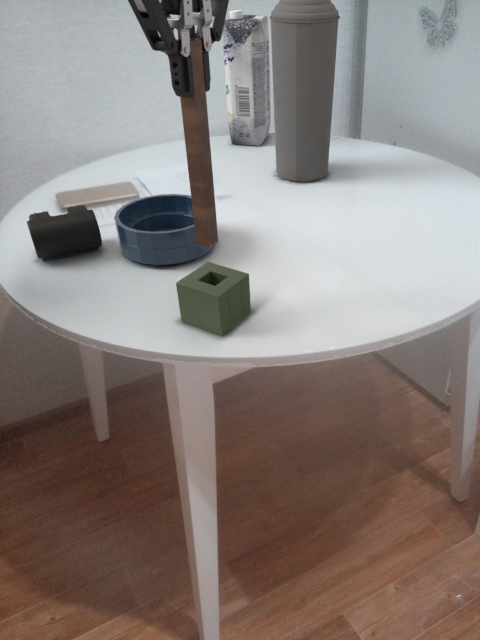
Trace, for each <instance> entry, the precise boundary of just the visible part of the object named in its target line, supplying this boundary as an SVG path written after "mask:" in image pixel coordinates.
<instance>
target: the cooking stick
mask: <svg viewBox="0 0 480 640" xmlns="http://www.w3.org/2000/svg"><path fill="white" fill-rule="evenodd" d="M176 40H178V38H176ZM188 57H192V66H193V77H194V87H195V95H194V96H193V97H190V98H185V97H179V100H180V108H181V118H182V127H183V135H184V143H185V153H186V162H187V171H188V172H187V173H188V179H189V180H188V182H189V189H190V196H191V200H192V209H193V218H194V227H195V236H196V243H197V244H201V245H204V246H208V247H209V246H211V245H212V244H214V243H215V244H216V243H217V242H219V233H218V221H217V207H216V197H215V186H214V185H215V184H214V172H213V162H212V161H213V160H212V148H211V137H210V124H209V114H208V102H207V92H206V88H205V76H204V64H203V52H202V40H201V39H198V38H190V54H189V56H188ZM215 244H214V245H215Z"/></svg>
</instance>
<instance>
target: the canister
mask: <svg viewBox="0 0 480 640" xmlns="http://www.w3.org/2000/svg"><path fill="white" fill-rule="evenodd" d="M340 19H341V16H340V14H339V10H338V9H337V8H336V5H335V4H334V3H333V2H332V0H278V2H277V3H276V4H275V5H274V9H272V10H271V12H270V16H269V20H270V40H271V41H270V42H271V67H272V69H271V71H272V95H273V123H274V145H275V146H274V147H275V165H276V166H275V168H276V173H277V175H278V176H279V177H280V178H282V179H284V180H288V181H292V182H311V181H317V180H321V179H323V178H325V176H326V175H327V174H328V171H329V159H330V144H331V133H332V120H333V119H332V117H333V104H334V91H335V76H336V63H337V62H336V61H337V47H338V34H339V33H338V32H339V20H340Z"/></svg>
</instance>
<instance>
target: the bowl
mask: <svg viewBox="0 0 480 640" xmlns="http://www.w3.org/2000/svg"><path fill="white" fill-rule="evenodd" d="M113 220H114V225H115V230H116V234H117V238H118V243H119V248H120V251H121V253H122V255H123V256H125V257H126V258H128V259H129V260H130V261H134V262H137V263H141V264H144V265H145V264H148V265H156V266H166V265H167V266H169V265H176V264H177V265H178V264H182V263H187V262H189V261H192V260H195V259H197V258H200V257H202V256H203V255H205V254H207V253H208V252H210V251H211V250H212V248H213V247H214V246H215V244H216V243H214V244H212V245H211V246H209V247H208V246H204V245H201V244H197V243H196V236H195V227H194V218H193V209H192V200H191V194H181V193H180V194H179V193H165V194H164V193H163V194H156V195H155V194H154V195H149V196H144V197H140V198H137V199H134V200H131V201H130V202H128V203H125V204H123V205H122V206H121V207H120V208H118V209H117V210H116V212H115V214H114V216H113Z"/></svg>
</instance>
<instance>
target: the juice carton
mask: <svg viewBox="0 0 480 640" xmlns="http://www.w3.org/2000/svg"><path fill="white" fill-rule="evenodd" d="M268 20H269V19H268V16H267V15H261V14H260V15H259V14H244V11H243V9H235V10H230V11H229V18H225V22H224V27H223V32H222V45H223V63H224V77H225V95H226V110H227V122H228V123H227V124H228V131H229V136H230V137H229V138H230V141H231V143H232V144H233V145H239V146H240V145H241V146H255V147H258V146H261V145H262V144H263V142H264V141H266V139H267V138H268V137H269V135H270V128H271V76H270V75H271V74H270V73H271V72H270V33H269V23H268V22H269V21H268Z"/></svg>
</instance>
